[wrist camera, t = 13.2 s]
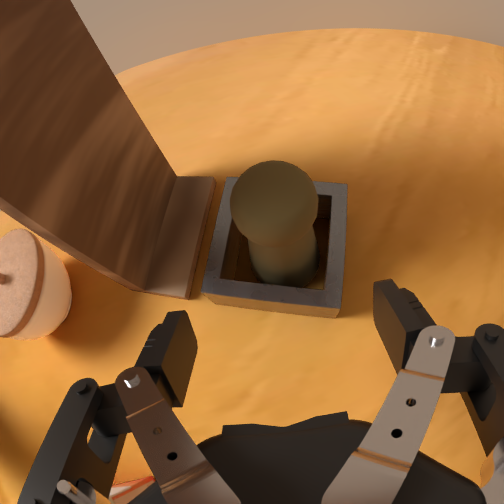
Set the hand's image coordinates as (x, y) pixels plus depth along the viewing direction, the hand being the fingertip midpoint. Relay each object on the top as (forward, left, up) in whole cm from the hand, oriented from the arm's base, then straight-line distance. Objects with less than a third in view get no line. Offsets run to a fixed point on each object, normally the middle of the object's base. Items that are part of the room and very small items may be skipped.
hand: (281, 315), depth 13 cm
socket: (-2, +7, -12) cm, 14 cm away
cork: (-2, +7, -12) cm, 14 cm away
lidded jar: (-26, -1, -13) cm, 29 cm away
